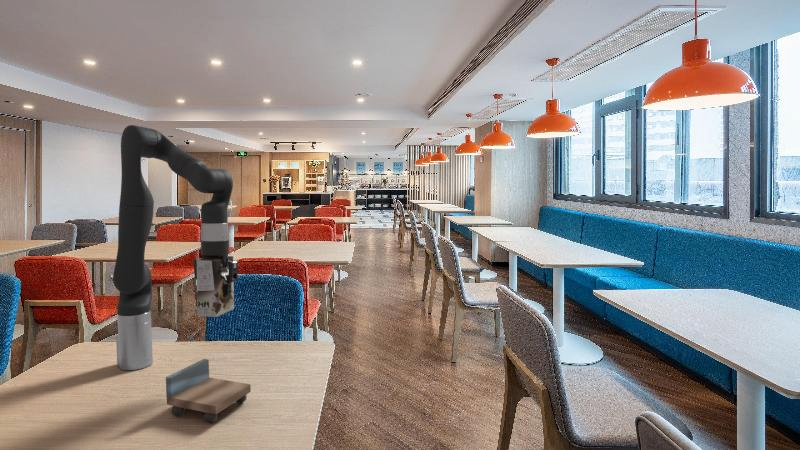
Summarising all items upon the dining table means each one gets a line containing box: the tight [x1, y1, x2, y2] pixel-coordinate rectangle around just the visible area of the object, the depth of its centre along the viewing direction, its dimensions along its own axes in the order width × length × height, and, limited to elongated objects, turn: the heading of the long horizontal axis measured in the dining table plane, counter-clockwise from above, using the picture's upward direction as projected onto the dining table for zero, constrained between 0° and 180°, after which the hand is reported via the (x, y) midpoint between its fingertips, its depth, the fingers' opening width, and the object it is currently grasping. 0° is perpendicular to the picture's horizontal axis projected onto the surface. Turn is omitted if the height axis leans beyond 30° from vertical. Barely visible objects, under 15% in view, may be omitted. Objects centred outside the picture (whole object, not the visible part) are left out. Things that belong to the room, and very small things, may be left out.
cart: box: [165, 358, 252, 425], centre depth 118 cm, size 15×13×10 cm
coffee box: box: [196, 255, 235, 318], centre depth 134 cm, size 9×6×16 cm
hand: (216, 295), depth 134 cm, fingers closed on coffee box, 7 cm apart
